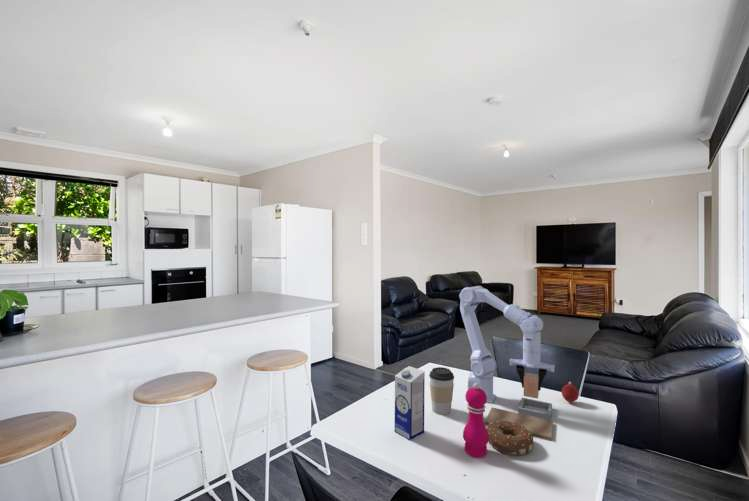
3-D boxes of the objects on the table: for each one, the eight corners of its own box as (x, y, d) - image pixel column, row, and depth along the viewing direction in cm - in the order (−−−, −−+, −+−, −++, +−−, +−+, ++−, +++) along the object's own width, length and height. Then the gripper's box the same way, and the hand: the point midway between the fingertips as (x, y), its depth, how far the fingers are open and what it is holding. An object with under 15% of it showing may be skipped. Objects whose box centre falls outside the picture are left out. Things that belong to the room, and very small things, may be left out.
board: (484, 424, 117) (484, 421, 117) (491, 409, 128) (491, 407, 128) (551, 440, 107) (551, 437, 107) (553, 423, 118) (553, 420, 118)
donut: (497, 428, 115) (498, 413, 115) (541, 445, 105) (541, 428, 105) (475, 445, 105) (476, 428, 105) (521, 465, 95) (521, 447, 95)
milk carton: (424, 433, 111) (425, 370, 111) (410, 440, 107) (410, 375, 107) (408, 424, 117) (408, 365, 117) (394, 431, 112) (394, 369, 112)
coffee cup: (452, 405, 131) (452, 365, 131) (455, 416, 122) (455, 374, 122) (428, 404, 132) (428, 364, 132) (429, 415, 123) (429, 373, 123)
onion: (577, 407, 130) (577, 386, 130) (560, 403, 134) (560, 382, 134) (579, 402, 135) (579, 381, 135) (562, 398, 138) (563, 378, 138)
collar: (518, 413, 125) (518, 408, 125) (521, 402, 134) (521, 397, 134) (550, 420, 120) (550, 415, 120) (552, 408, 129) (552, 403, 129)
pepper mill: (469, 441, 107) (469, 376, 106) (492, 450, 102) (493, 382, 102) (458, 452, 101) (459, 383, 101) (482, 462, 96) (483, 390, 96)
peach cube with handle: (524, 391, 128) (525, 372, 128) (538, 393, 125) (539, 374, 125) (523, 397, 122) (523, 377, 122) (537, 400, 120) (537, 380, 120)
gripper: (508, 350, 124) (508, 388, 124) (554, 356, 117) (553, 396, 117) (511, 345, 131) (510, 381, 131) (554, 351, 124) (554, 389, 124)
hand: (531, 388), depth 124 cm, fingers closed on peach cube with handle, 5 cm apart
